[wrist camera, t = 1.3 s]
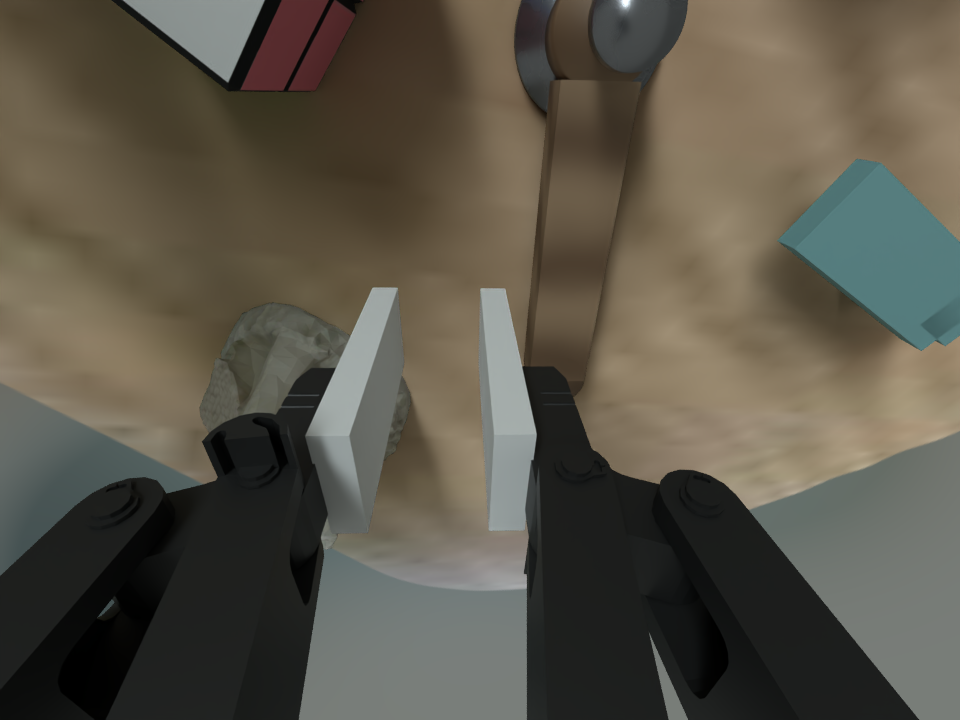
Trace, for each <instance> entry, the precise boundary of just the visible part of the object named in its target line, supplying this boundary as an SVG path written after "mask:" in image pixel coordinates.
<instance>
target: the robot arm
mask: <svg viewBox="0 0 960 720" xmlns="http://www.w3.org/2000/svg"><path fill="white" fill-rule="evenodd" d="M403 366H404V353H403V342H402V330H401V319H400V308H399V296H398V288H372V290H371V292H370V295H369V297H368V299H367V301H366V303H365V306H364V308H363V310H362V312H361V314H360V317H359V319H358V321H357V323H356V325H355V328H354V330H353V332H352V334H351V336H350V339H349V341H348V343H347V345H346V347H345V350H344V352H343V354H342V356H341V358H340V361H339V363H338V365H337V367H336V368H310V369H309V370H308V371H306V372H305V373H304V374H303V375H301V376H300V377H299V378H297V379H296V380H295V382H294V384H293V385H292V387H291V389H290V391H289V392H288V396H286V398H285V399H284V401H283V403H282V405H281V408H279V410H278V412H277V413H276V415H275V414H272V413H259V412H256V413H251V414H245V415H240V416H238V417H235V418H233V419H230V420H228V421H226V422H224V423H222V424H221V425H219V426H218V427H216V428H215V429H213V430H212V431H211V432H210V433H209V434H208V435H207V436H206V438H205V439H204V440H203V441H202V443H203V445H204V447H205V450H206V452H207V454H208V456H209V458H210V461H211V463H212V465H213V467H214V470H215V472H216V474H217V476H218V478H217V480H216V481H213V482H210V483H207V484H204V485H200V486H196V487H191V488H187V489H183V490H179V491H176V492H171V493H167V494H166V492H165V491H164V489H163V487H162V486H161V485H160V484H159V482H158V481H156V480H153V479H149V478H146V477H142V478H129V479H125V480H122V481H119V482H115V483H112V484H109V485H107V486H105V487H104V488H102V489H100V490H98V491H96V492H94V493H92V494H90V495H89V496H88V497H86V498H85V499H84V500H82V501H81V502H80V503H78V504H77V505H76V506H75V507H74V508H72V509H71V510H70V511H69V512H68V513H67V514H66V515H65V516H64V517H63V518H62V519H61V520H60V521H58V522H57V523H56V524H55V525H54V526H53V527H52V528H51V529H50V530H49V531H48V532H47V533H46V534H45V535H44V536H42V537H41V538H40V539H39V540H38V541H37V542H36V543H35V544H34V545H33V546H32V547H31V548H30V549H29V550H27V551H26V552H25V553H24V554H23V555H22V556H21V557H20V558H19V559H18V560H17V561H16V562H15V563H14V564H13V565H11V566H10V567H9V568H8V569H7V570H6V571H5V572H4V573H3V574H2V575H1V576H0V720H299V713H300V707H301V701H302V694H303V687H304V681H305V675H306V669H307V662H308V655H309V649H310V642H311V636H312V630H313V623H314V617H315V610H316V604H317V598H318V591H319V584H320V578H321V572H322V566H323V559H324V550H323V544H322V540H321V535H322V532H323V529H324V526H325V522H326V519H328V523H329V527H330V531H331V534H339V533H368V531H369V526H370V521H371V517H372V512H373V507H374V503H375V498H376V493H377V489H378V484H379V479H380V474H381V470H382V465H383V460H384V456H385V451H386V446H387V442H388V437H389V432H390V427H391V423H392V418H393V413H394V409H395V404H396V399H397V395H398V390H399V385H400V380H401V376H402V371H403ZM479 377H480V394H481V410H482V427H483V443H484V459H485V476H486V492H487V509H488V525H489V531H514V530H525V522H526V520H527V527H528V533H529V541H528V548H527V555H526V562H525V570H524V574H527V720H668V716H667V711H666V706H665V702H664V698H663V693H662V689H661V685H660V680H659V675H658V671H657V666H656V662H655V658H654V653H653V649H652V645H651V640H650V636H649V633H650V635H651V637H652V640H653V642H654V644H655V646H656V649H657V651H658V653H659V655H660V657H661V660H662V662H663V664H664V666H665V668H666V671H667V673H668V675H669V678H670V680H671V682H672V684H673V686H674V689H675V690H676V693H677V696H678V698H679V700H680V702H681V704H682V707H683V709H684V711H685V713H686V716H687V718H688V720H919V719H918V718H917V717H916V715H915V714H914V713H913V712H912V710H911V709H910V708H909V707H908V706H907V704H906V703H905V702H904V701H903V699H902V698H901V697H900V696H899V695H898V693H897V692H896V691H895V690H894V688H893V687H892V686H891V685H890V683H889V682H888V681H887V680H886V679H885V677H884V676H883V675H882V674H881V672H880V671H879V670H878V669H877V667H876V666H875V665H874V664H873V663H872V661H871V660H870V659H869V658H868V657H867V655H866V654H865V653H864V651H863V650H862V649H861V648H860V647H859V646H858V644H857V643H856V642H855V640H854V639H853V638H852V637H851V635H850V634H849V633H848V632H847V631H846V630H845V628H844V627H843V626H842V624H841V623H840V622H839V621H838V620H837V618H836V617H835V616H834V615H833V614H832V612H831V611H830V610H829V608H828V607H827V606H826V605H825V604H824V602H823V601H822V600H821V599H820V598H819V596H818V595H817V594H816V592H815V591H814V590H813V589H812V588H811V586H810V585H809V584H808V583H807V581H806V580H805V579H804V578H803V577H802V575H801V574H800V573H799V572H798V570H797V569H796V568H795V567H794V565H793V564H792V563H791V562H790V561H789V559H788V558H787V557H786V556H785V554H784V553H783V552H782V551H781V550H780V548H779V547H778V546H777V545H776V543H775V542H774V541H773V540H772V539H771V537H770V536H769V535H768V534H767V532H766V531H765V530H764V529H763V527H762V526H761V525H760V524H759V523H758V521H757V520H756V519H755V518H754V516H753V515H752V514H751V513H750V511H749V510H748V509H747V508H746V506H745V505H744V504H743V503H742V502H741V500H740V499H739V498H738V497H737V495H736V494H735V493H733V492H732V491H731V490H730V489H729V488H728V487H727V486H726V485H725V484H724V483H722V482H720V481H719V480H717V479H715V478H713V477H712V476H710V475H707V474H704V473H701V472H698V471H694V470H676V471H673V472H670V473H668V474H667V475H666V476H665V477H664V478H663V479H662V480H661V482H660V484H656V483H651V482H647V481H643V480H639V479H635V478H631V477H628V476H625V475H622V474H619V473H618V472H616V471H614V470H612V469H611V468H610V466H609V464H608V462H607V461H606V460H605V459H604V458H603V457H602V456H601V455H600V454H599V453H598V452H596V451H594V450H592V448H591V446H590V443H589V440H588V437H587V435H586V432H585V429H584V426H583V424H582V421H581V418H580V415H579V412H578V410H577V407H576V405H575V401H574V399H573V396H572V394H571V390H570V388H569V385H568V382H567V379H566V378H565V377H564V376H563V375H562V374H561V373H560V372H559V371H558V370H557V369H556V368H555V367H554V366H522V364H521V360H520V355H519V351H518V346H517V342H516V337H515V332H514V328H513V323H512V319H511V314H510V309H509V305H508V300H507V296H506V291H505V289H502V288H480V327H479ZM111 599H112V600H113V601H114V602H115V603H114V604H113V605H112V606H111V607H110V608H109V609H108V610H107V611H106V612H105V613H104V614H103V615H102V616H100V617H98V616H99V614H100V613H101V612H102V611H103V609H104V608H105V607H106V606H107V604H108V603H109V602H110V601H111Z"/></svg>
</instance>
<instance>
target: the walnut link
mask: <svg viewBox="0 0 960 720" xmlns="http://www.w3.org/2000/svg"><path fill="white" fill-rule="evenodd" d="M591 3H592V0H556V1H555V3H554V5H553V7H552V9H551V11H550V14H549V17H548V20H547V24H546V30H545V52H546V57H547V60H548V64H549V66H550V68H551V70H552V72H553V74H554V75H555V77H556V78H557V79H558V80H553V81H550V87H549V98H548V108H547V119H546V130H545V140H544V151H543V161H542V172H541V183H540V193H539V204H538V215H537V225H536V236H535V246H534V257H533V268H532V278H531V289H530V300H529V310H528V321H527V331H526V342H525V353H524V365H525V366H554V367H555V368H556V369H557V370H558V371H559V372H560V373H561V374H562V375H563V376H564V377H565V378H566V379H567V382H568V385H569V388H570V390H571V394H572V396H573V397H574V396H575V395H576V394H577V393H578V392H579V391H580V390H581V388H582V386H583V384H584V380H585V374H586V369H587V364H588V359H589V354H590V348H591V343H592V338H593V333H594V328H595V322H596V317H597V312H598V307H599V302H600V296H601V291H602V286H603V281H604V275H605V270H606V265H607V260H608V255H609V249H610V244H611V239H612V234H613V229H614V223H615V218H616V213H617V208H618V202H619V197H620V192H621V187H622V182H623V176H624V171H625V166H626V161H627V156H628V150H629V145H630V140H631V135H632V130H633V124H634V119H635V114H636V109H637V103H638V98H639V93H640V88H641V83H642V82H632V81H633V80H634V79H635V78H636V77H638V76H639V75H640V73H641V72H642V71H641V72H636V73H624V74H623V73H617V72H613V71H611V70H609V69H607V68H606V67H604V66H603V65H602V64H601V63H600V62H599V61H598V59H597V58H596V57H595V55H594V53H593V51H592V48H591V46H590V42H589V37H588V16H589V10H590V7H591Z"/></svg>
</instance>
